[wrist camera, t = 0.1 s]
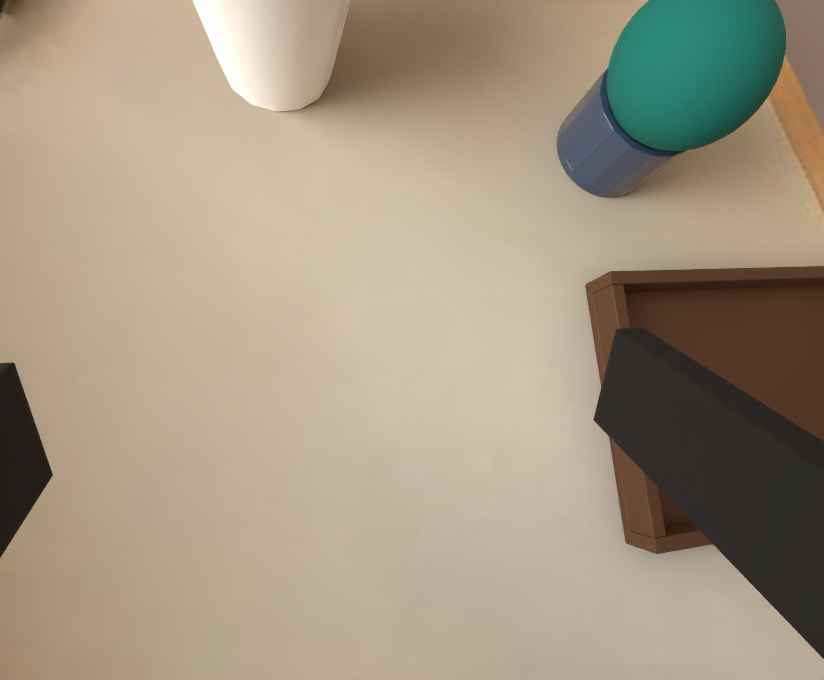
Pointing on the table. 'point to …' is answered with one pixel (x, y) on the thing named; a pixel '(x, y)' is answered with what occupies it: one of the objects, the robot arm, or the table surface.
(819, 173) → the table surface
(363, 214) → the table surface
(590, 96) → the cup
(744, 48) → the ball
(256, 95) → the foam cup
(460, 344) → the table surface
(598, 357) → the tray
